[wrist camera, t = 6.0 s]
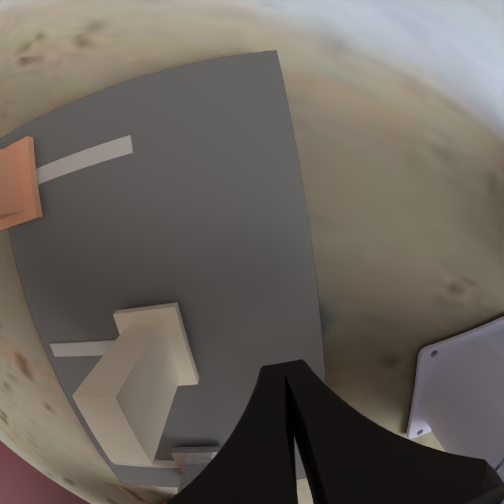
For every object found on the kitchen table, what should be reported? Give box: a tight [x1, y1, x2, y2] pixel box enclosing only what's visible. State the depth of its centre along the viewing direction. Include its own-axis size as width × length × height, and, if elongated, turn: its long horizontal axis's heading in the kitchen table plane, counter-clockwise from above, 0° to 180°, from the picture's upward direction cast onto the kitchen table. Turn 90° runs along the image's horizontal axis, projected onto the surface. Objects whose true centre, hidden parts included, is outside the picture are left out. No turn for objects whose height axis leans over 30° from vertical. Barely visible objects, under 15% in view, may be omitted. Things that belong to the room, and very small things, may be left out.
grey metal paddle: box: [171, 446, 222, 493], centre depth 12 cm, size 3×4×6 cm
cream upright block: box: [72, 302, 199, 465], centre depth 10 cm, size 3×4×6 cm
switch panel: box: [0, 50, 326, 487], centre depth 14 cm, size 15×24×2 cm, turn 10°
